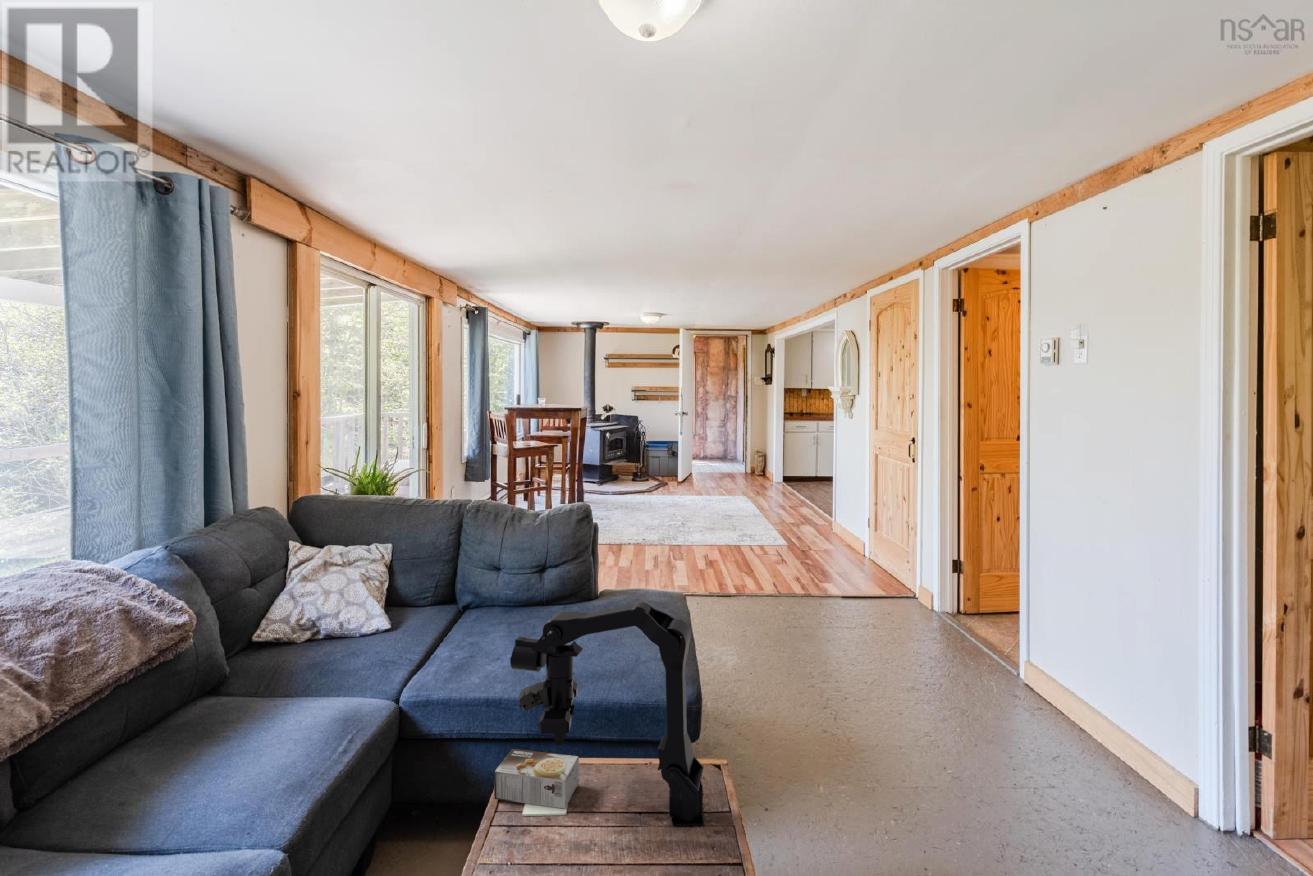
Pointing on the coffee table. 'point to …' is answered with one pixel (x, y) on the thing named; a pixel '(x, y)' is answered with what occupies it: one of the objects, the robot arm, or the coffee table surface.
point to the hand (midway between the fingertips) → (559, 744)
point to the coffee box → (537, 778)
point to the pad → (542, 810)
